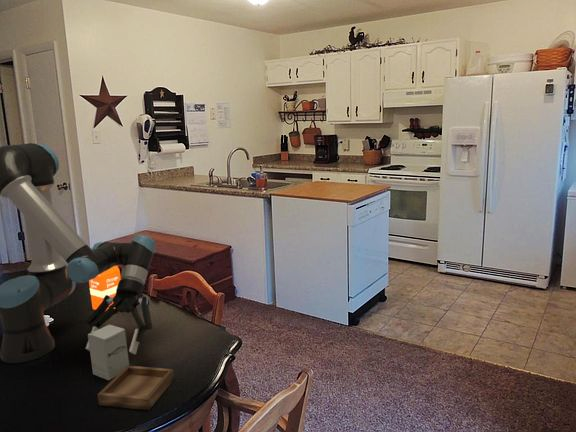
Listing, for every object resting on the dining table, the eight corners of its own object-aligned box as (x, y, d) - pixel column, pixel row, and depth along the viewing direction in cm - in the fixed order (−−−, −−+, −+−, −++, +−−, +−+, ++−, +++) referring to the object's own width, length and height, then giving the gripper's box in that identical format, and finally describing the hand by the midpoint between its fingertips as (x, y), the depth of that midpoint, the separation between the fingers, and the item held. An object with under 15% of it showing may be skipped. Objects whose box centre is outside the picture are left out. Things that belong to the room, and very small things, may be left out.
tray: (98, 405, 116) (97, 394, 116) (128, 375, 130) (127, 365, 129) (149, 410, 113) (147, 399, 113) (174, 379, 127) (173, 369, 126)
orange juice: (124, 304, 181) (118, 256, 176) (104, 312, 173) (98, 262, 169) (111, 301, 185) (105, 253, 181) (92, 308, 177) (85, 259, 173)
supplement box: (109, 381, 127) (103, 339, 124) (92, 374, 131) (86, 333, 128) (130, 368, 133) (125, 328, 130) (114, 362, 137) (109, 323, 134)
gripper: (174, 288, 142) (156, 357, 130) (101, 286, 147) (78, 352, 135) (164, 278, 135) (145, 350, 124) (89, 276, 140) (64, 345, 129)
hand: (110, 351), depth 130 cm, fingers open, 13 cm apart
